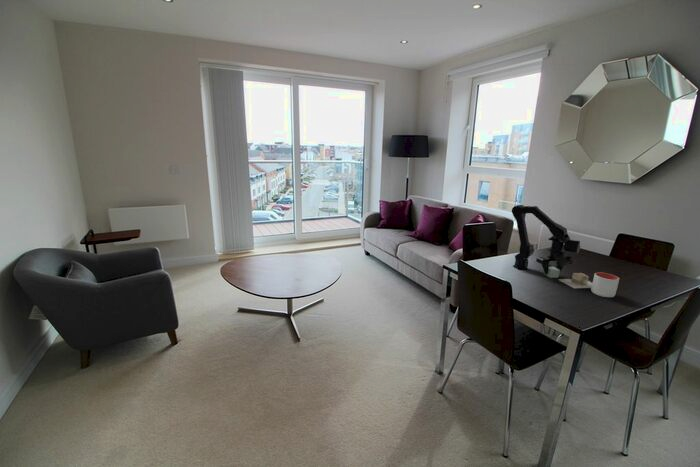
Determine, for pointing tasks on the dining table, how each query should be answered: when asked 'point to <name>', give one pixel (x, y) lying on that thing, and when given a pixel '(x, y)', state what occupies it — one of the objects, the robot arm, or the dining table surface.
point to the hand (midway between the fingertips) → (551, 274)
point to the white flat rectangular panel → (568, 282)
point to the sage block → (553, 272)
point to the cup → (604, 284)
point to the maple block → (579, 279)
